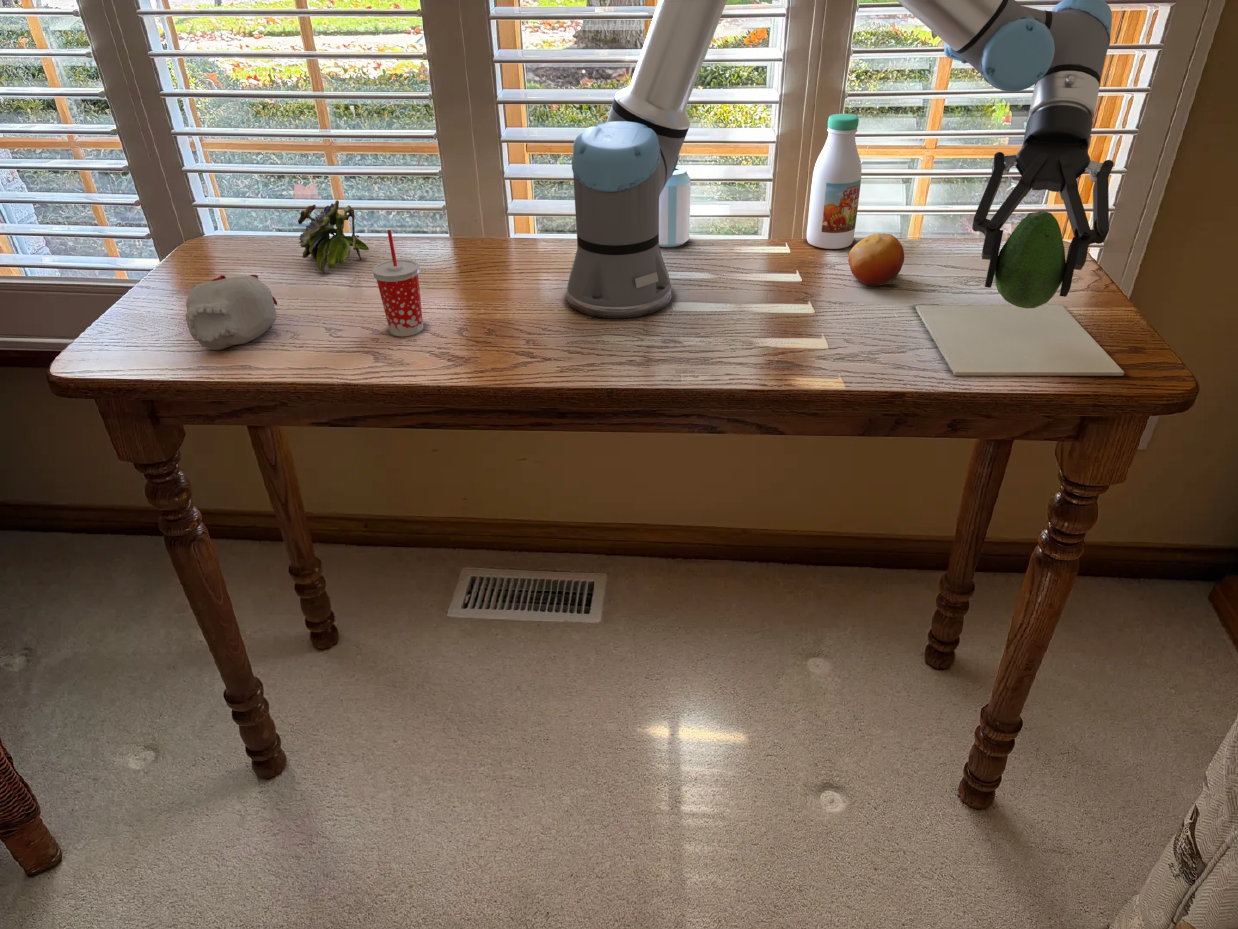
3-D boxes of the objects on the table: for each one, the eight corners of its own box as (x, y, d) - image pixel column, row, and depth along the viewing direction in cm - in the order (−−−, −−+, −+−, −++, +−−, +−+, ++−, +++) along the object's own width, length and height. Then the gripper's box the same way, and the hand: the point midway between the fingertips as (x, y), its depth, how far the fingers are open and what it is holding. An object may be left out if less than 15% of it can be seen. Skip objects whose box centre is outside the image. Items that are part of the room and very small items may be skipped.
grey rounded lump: (198, 363, 111) (199, 331, 124) (288, 345, 115) (281, 316, 127) (175, 295, 107) (179, 269, 120) (270, 279, 111) (264, 255, 123)
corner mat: (954, 375, 105) (955, 372, 105) (915, 308, 122) (915, 305, 121) (1123, 375, 104) (1124, 372, 104) (1060, 307, 120) (1061, 304, 120)
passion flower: (324, 289, 146) (312, 220, 147) (385, 276, 145) (372, 206, 146) (292, 274, 135) (279, 199, 135) (357, 260, 134) (344, 185, 134)
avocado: (1024, 289, 114) (1047, 199, 107) (1067, 312, 108) (1094, 218, 101) (973, 298, 112) (993, 207, 105) (1014, 322, 106) (1038, 227, 99)
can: (645, 235, 149) (645, 164, 142) (686, 233, 150) (687, 162, 143) (650, 249, 143) (649, 176, 137) (692, 247, 144) (693, 174, 137)
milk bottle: (801, 247, 143) (813, 120, 132) (811, 232, 149) (823, 109, 137) (848, 252, 140) (865, 123, 129) (856, 236, 146) (873, 112, 135)
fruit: (917, 283, 125) (894, 235, 122) (865, 306, 129) (842, 261, 126) (912, 262, 132) (891, 217, 129) (863, 285, 135) (841, 241, 132)
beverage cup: (428, 336, 118) (412, 236, 110) (382, 340, 117) (363, 240, 109) (429, 317, 123) (413, 220, 115) (385, 321, 122) (366, 224, 114)
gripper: (975, 96, 109) (939, 264, 105) (1162, 106, 102) (1129, 285, 98) (970, 131, 116) (936, 288, 112) (1144, 142, 109) (1113, 310, 105)
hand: (1026, 287), depth 105 cm, fingers closed on avocado, 8 cm apart
